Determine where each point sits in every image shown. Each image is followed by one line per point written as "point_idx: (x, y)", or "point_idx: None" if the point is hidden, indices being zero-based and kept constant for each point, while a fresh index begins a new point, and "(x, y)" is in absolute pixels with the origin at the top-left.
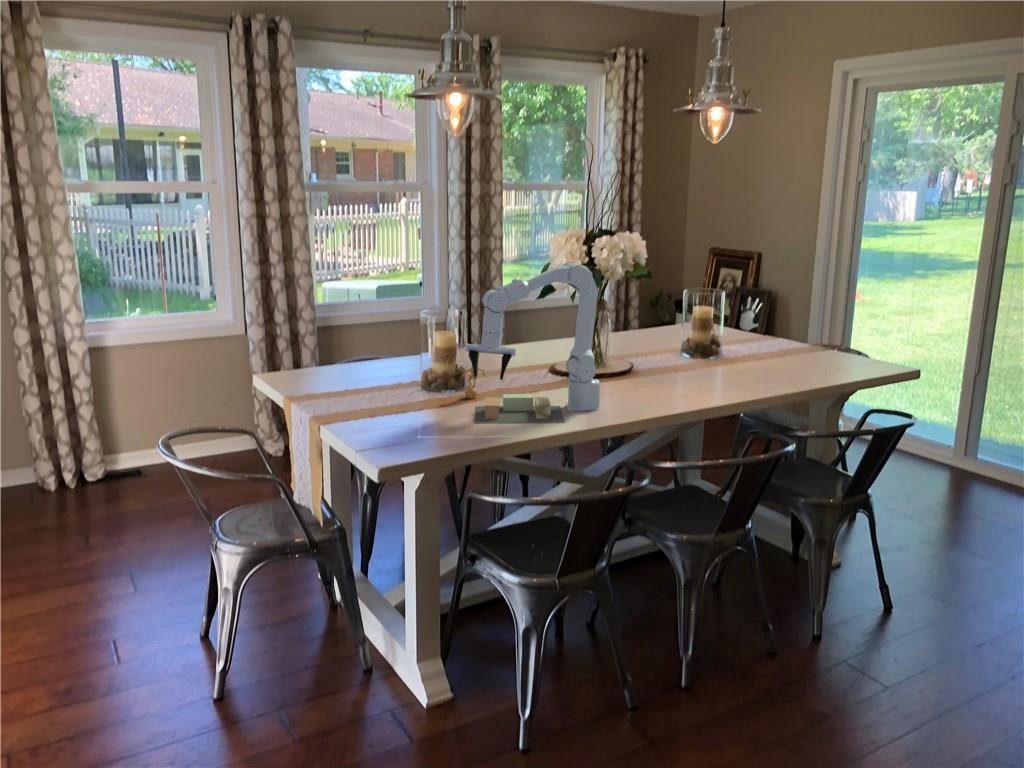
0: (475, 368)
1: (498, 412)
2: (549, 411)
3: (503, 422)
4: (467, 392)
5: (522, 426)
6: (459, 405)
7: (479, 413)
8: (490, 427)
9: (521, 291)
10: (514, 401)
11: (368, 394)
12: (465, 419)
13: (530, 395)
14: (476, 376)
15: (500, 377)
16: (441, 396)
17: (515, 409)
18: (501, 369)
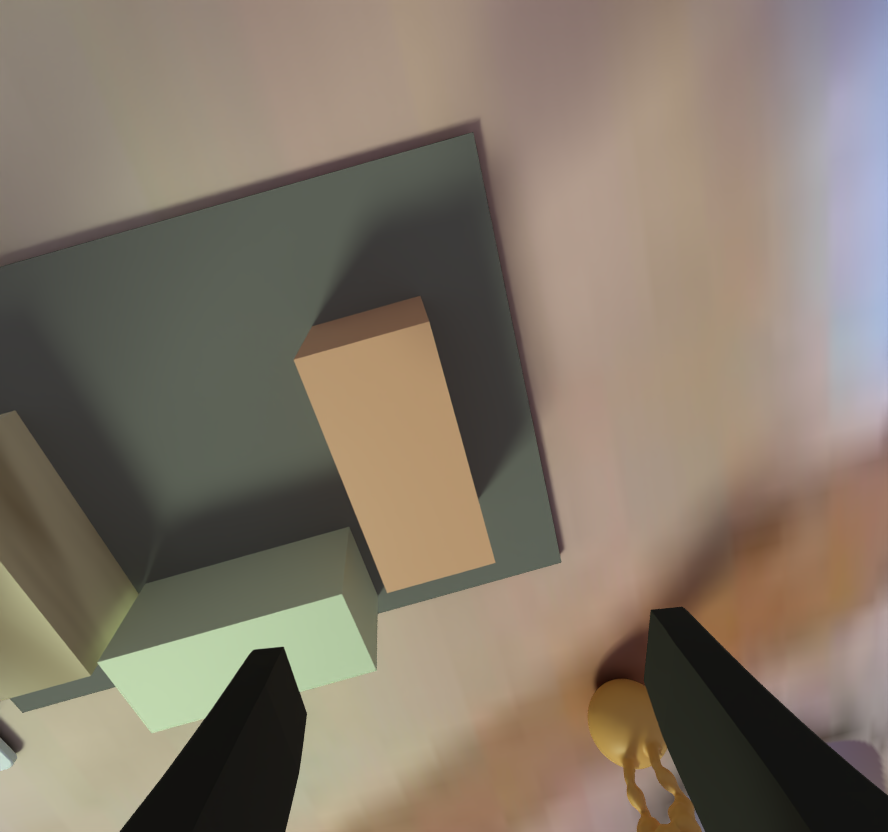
0: (754, 729)
1: (306, 340)
2: None
3: (234, 231)
4: (651, 707)
5: (41, 193)
6: (663, 571)
7: (498, 423)
8: (311, 89)
9: None
10: (257, 595)
11: None
12: (575, 281)
13: (151, 702)
14: (651, 625)
15: (263, 671)
16: (779, 683)
17: (265, 555)
18: (192, 821)
